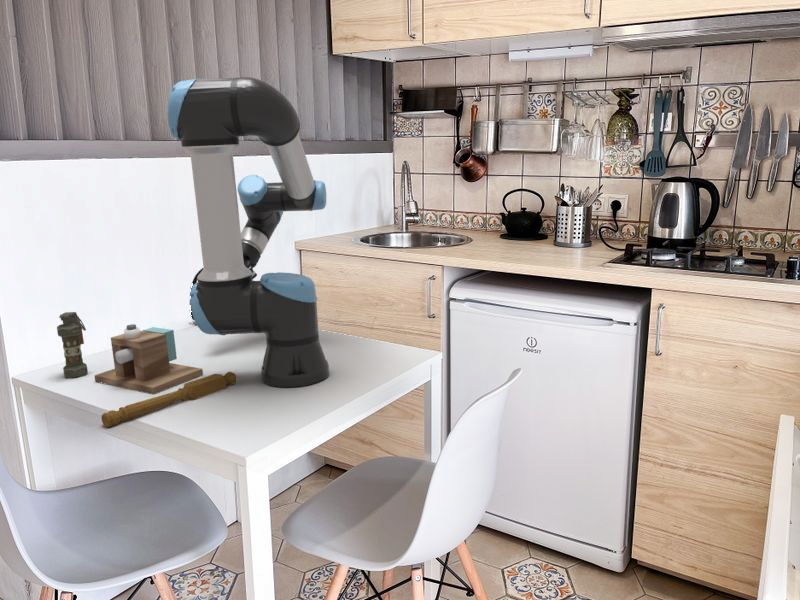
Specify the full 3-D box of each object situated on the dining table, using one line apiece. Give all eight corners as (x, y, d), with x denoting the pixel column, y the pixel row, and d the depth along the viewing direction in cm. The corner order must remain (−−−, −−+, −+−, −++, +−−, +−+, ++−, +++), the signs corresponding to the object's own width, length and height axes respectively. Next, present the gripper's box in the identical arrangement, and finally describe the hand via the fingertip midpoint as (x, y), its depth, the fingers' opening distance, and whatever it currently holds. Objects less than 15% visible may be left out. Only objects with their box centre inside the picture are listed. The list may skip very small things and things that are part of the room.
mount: (203, 374, 156) (198, 331, 154) (153, 394, 145) (147, 347, 142) (145, 364, 166) (140, 323, 164) (95, 381, 155) (88, 337, 153)
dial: (143, 336, 151) (141, 324, 151) (131, 340, 149) (130, 327, 148) (133, 335, 153) (132, 323, 152) (121, 338, 150) (120, 326, 150)
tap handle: (99, 411, 128) (229, 368, 151) (101, 426, 129) (231, 381, 151) (107, 414, 126) (238, 371, 149) (109, 430, 127) (239, 384, 149)
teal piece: (176, 358, 158) (173, 330, 156) (131, 374, 147) (127, 343, 146) (156, 355, 161) (153, 327, 160) (111, 370, 151) (107, 340, 149)
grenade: (85, 377, 158) (76, 315, 155) (59, 378, 158) (49, 316, 155) (97, 369, 164) (89, 309, 161) (72, 370, 164) (63, 310, 161)
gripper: (274, 258, 180) (235, 333, 169) (238, 256, 186) (198, 328, 176) (259, 240, 174) (218, 317, 164) (222, 239, 181) (180, 313, 170)
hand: (208, 323), depth 170 cm, fingers closed
